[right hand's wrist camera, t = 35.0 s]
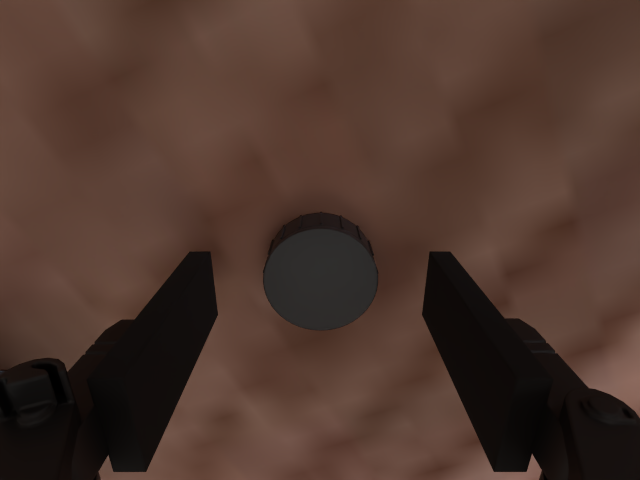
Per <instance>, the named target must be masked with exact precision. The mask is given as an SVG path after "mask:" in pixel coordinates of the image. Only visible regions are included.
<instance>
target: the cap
mask: <svg viewBox="0 0 640 480" xmlns="http://www.w3.org/2000/svg"><path fill="white" fill-rule="evenodd" d="M268 255H269V256H268V258H267V261H266V264H265V267H264V270H263V273H264V274H263V283H264V290H265V293H266V296H267V298H268V301H269V302H270V304H271V306H272V307H273V308H274V310H275V311H276V312H277V313H278V314H279V315H280V316H281V317H283V318H284V319H285V320H287V321H288V322H290V323H292V324H294V325H296V326H299V327H302V328H305V329H310V330H331V329H336V328H339V327H342V326H345V325H347V324H349V323H351V322H353V321H354V320H356V319H357V318H359V317H360V316H361V315H362V314H363V313H364V312H365V311H366V310H367V309H368V307H369V306H370V304H371V303H372V301H373V299H374V297H375V294H376V291H377V286H378V270H377V267H376V264H375V261H374V258H373V256H374V254H373V251H372V248H371V245H370V242H369V240H368V241H367V239H366V237H365V236H364V234H363V233H362V232H361V230H360V229H359V226H355V225H354V224H353V223H351V222H350V221H348V220H346V219H344V218H342V216H341V215H340V216H337V215H333V214H327V213H322V212H320V213H314V214H308V215H305V216H302V215H301V216H300V217H299V218H297V219H295V220H293V221H291V222H290V223H288V224H287V225H286V226H285V225H284V226H283V228H282V230H281V231H280V232H279V233H278V234H277V236H276V237H275V239H274V240H272V242H271V246H270V249H269V252H268Z"/></svg>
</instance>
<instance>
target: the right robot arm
mask: <svg viewBox="0 0 640 480" xmlns="http://www.w3.org/2000/svg"><path fill="white" fill-rule="evenodd" d="M217 316H218V311H217V303H216V295H215V286H214V278H213V269H212V261H211V252H189V253H188V255H187V256H186V257H185V258H184V259H183V261H182V262H181V263H180V264H179V266H178V267H177V268H176V269H175V271H174V272H173V273H172V274H171V275H170V277H169V278H168V279H167V280H166V282H165V283H164V284H163V285H162V287H161V288H160V289H159V290H158V291H157V293H156V294H155V295H154V296H153V298H152V299H151V300H150V301H149V303H148V304H147V305H146V306H145V307H144V309H143V310H142V311H141V312H140V314H139V315H138V316H137V317H136V319H135V320H120V321H119V322H117V323H116V324H114V325H113V326H111V327H109V328H108V329H106V330H105V331H104V332H103V333H102V334H101V336H100V337H99V338H98V339H97V340H96V341H95V344H94V345H92V346H91V347H90V348H89V349H88V350H87V351H86V354H85V355H83V356H82V357H81V358H80V359H79V360H78V361H77V362H76V363H75V364H74V366H73V367H72V368H71V369H70V370H69V371H68V372H67V371H66V367H65V364H64V363H63V362H61V361H60V360H59V359H53V358H43V359H35V360H31V361H28V362H25V363H22V364H19V365H17V366H15V367H13V368H11V369H9V370H7V371H5V372H3V373H2V374H0V480H101V479H100V475H99V472H98V471H99V470H100V468H101V466H102V464H103V463H104V461H105V459H106V458H107V456H108V455H109V458H110V462H111V465H112V468H113V472H146V471H147V469H148V466H149V464H150V462H151V460H152V458H153V456H154V453H155V451H156V449H157V447H158V445H159V442H160V440H161V438H162V436H163V434H164V431H165V429H166V427H167V425H168V423H169V421H170V418H171V416H172V414H173V412H174V410H175V407H176V405H177V403H178V401H179V399H180V396H181V394H182V392H183V390H184V388H185V386H186V383H187V381H188V379H189V377H190V375H191V372H192V370H193V368H194V366H195V364H196V361H197V359H198V357H199V355H200V353H201V351H202V348H203V346H204V344H205V342H206V340H207V337H208V335H209V333H210V331H211V329H212V327H213V324H214V322H215V320H216V318H217ZM422 316H423V318H424V320H425V322H426V324H427V326H428V329H429V331H430V333H431V335H432V337H433V340H434V342H435V344H436V346H437V348H438V351H439V353H440V355H441V357H442V359H443V361H444V364H445V366H446V368H447V370H448V372H449V375H450V377H451V379H452V381H453V383H454V386H455V388H456V390H457V392H458V394H459V396H460V399H461V401H462V403H463V405H464V407H465V410H466V412H467V414H468V416H469V418H470V421H471V423H472V425H473V427H474V429H475V431H476V434H477V436H478V438H479V440H480V442H481V445H482V447H483V449H484V451H485V453H486V456H487V458H488V460H489V462H490V464H491V466H492V469H493V471H494V472H527V468H528V465H529V462H530V458H531V455H532V454H533V456H534V457H535V459H536V461H537V462H538V464H539V466H540V468H541V469H542V472H541V475H540V478H539V480H640V418H639V417H638V415H637V414H636V412H635V411H634V410H632V409H631V408H630V407H629V406H628V405H626V404H625V403H624V402H622V401H621V400H619V399H617V398H615V397H613V396H612V395H610V394H607V393H604V392H602V391H599V390H596V389H590V388H588V387H587V386H586V385H585V384H584V383H583V381H582V380H581V379H580V378H579V377H578V376H577V375H576V374H575V373H574V372H573V370H572V369H571V368H570V367H569V366H568V365H567V364H566V363H565V362H564V360H563V359H562V358H561V357H560V356H559V355H558V354H557V353H555V351H554V349H553V348H552V347H551V346H550V345H549V344H548V343H546V341H545V339H544V338H543V337H542V336H541V335H540V334H539V333H538V332H537V331H536V330H535V329H534V328H533V327H531V326H530V325H528V324H526V323H525V322H523V321H522V320H520V319H504V317H503V316H502V315H501V314H500V312H499V311H498V310H497V309H496V307H495V306H494V305H493V304H492V303H491V301H490V300H489V299H488V298H487V296H486V295H485V294H484V293H483V291H482V290H481V289H480V288H479V287H478V285H477V284H476V283H475V282H474V280H473V279H472V278H471V277H470V275H469V274H468V273H467V272H466V271H465V269H464V268H463V267H462V266H461V264H460V263H459V262H458V261H457V259H456V258H455V257H454V256H453V255H452V253H451V252H430V253H429V261H428V269H427V278H426V286H425V295H424V303H423V311H422Z"/></svg>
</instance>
